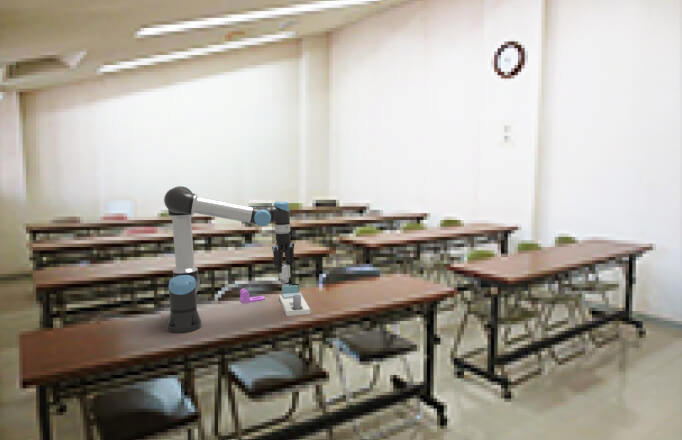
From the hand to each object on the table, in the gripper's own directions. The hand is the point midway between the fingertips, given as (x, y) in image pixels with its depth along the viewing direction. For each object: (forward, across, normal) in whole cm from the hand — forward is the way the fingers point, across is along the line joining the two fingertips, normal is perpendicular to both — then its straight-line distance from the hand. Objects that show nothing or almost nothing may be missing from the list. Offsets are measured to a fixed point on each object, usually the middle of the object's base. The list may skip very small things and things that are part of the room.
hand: (284, 277), depth 239 cm
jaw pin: (+2, 0, 0) cm, 2 cm away
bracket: (+18, 0, +28) cm, 33 cm away
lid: (+15, +14, +11) cm, 23 cm away
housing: (+18, +8, +3) cm, 20 cm away
